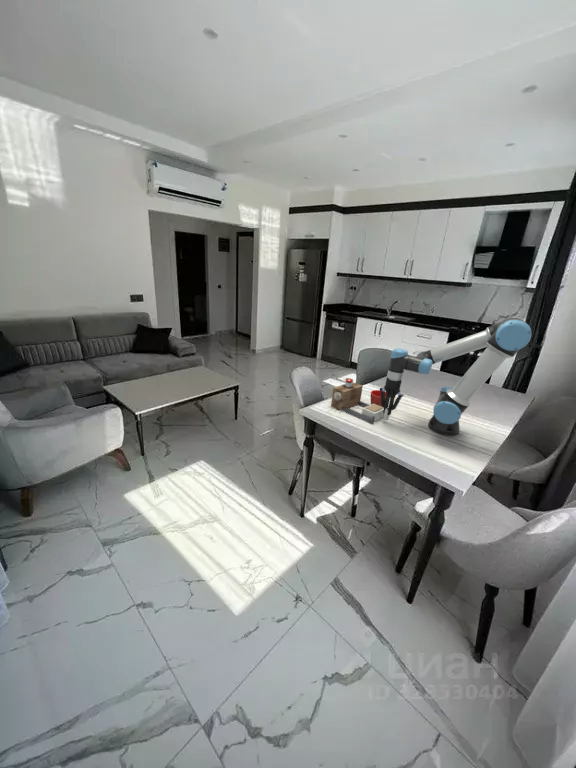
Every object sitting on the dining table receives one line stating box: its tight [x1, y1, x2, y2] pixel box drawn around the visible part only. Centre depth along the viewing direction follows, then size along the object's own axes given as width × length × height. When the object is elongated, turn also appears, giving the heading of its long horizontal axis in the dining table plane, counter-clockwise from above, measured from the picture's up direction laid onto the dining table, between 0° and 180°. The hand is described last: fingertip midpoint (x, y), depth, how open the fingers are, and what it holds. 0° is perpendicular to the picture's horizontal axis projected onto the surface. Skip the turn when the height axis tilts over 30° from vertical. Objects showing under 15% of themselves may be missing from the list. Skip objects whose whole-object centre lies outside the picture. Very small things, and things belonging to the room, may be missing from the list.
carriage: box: [361, 404, 384, 422], centre depth 174 cm, size 8×11×6 cm
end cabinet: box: [330, 381, 364, 412], centre depth 186 cm, size 8×18×12 cm, turn 133°
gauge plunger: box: [345, 377, 354, 389], centre depth 184 cm, size 4×4×8 cm
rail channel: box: [342, 400, 375, 425], centre depth 178 cm, size 20×16×4 cm
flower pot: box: [370, 389, 386, 407], centre depth 185 cm, size 11×11×10 cm
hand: (385, 419), depth 169 cm, fingers closed
